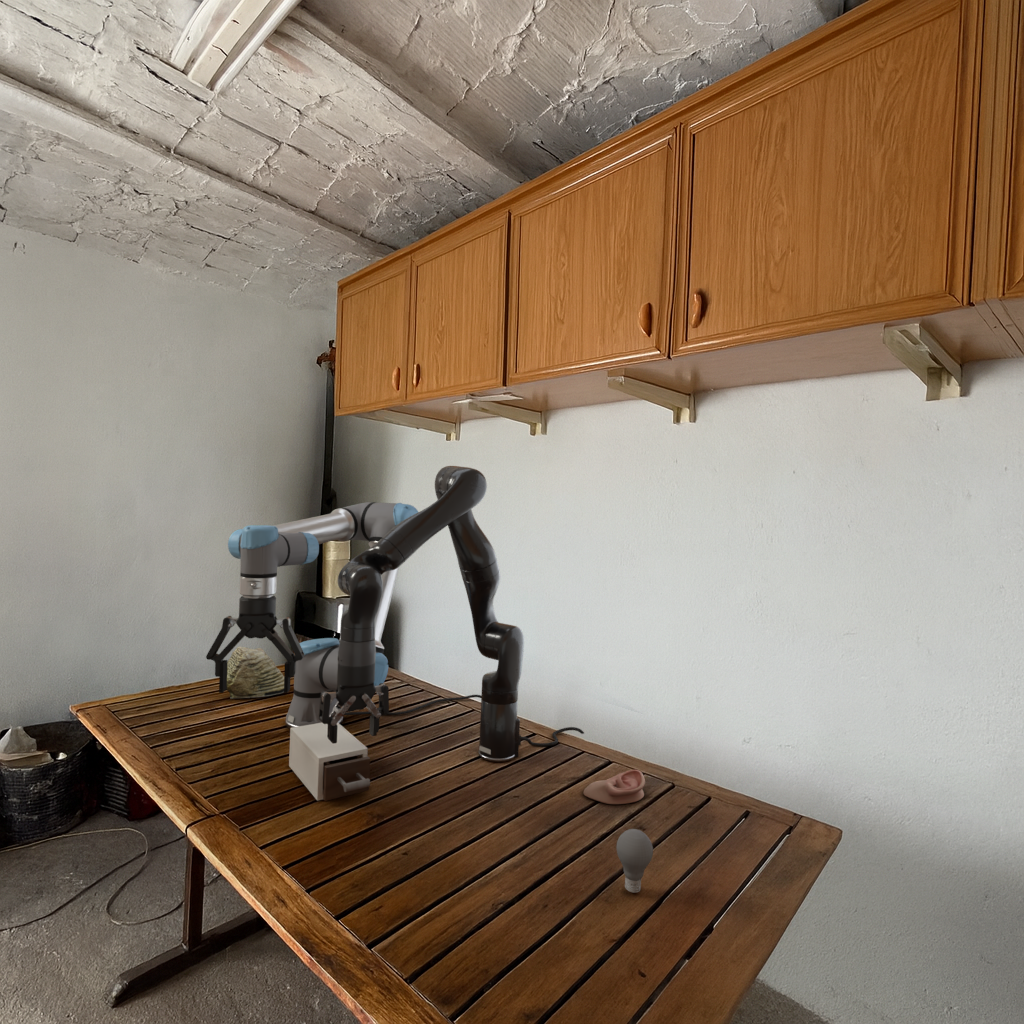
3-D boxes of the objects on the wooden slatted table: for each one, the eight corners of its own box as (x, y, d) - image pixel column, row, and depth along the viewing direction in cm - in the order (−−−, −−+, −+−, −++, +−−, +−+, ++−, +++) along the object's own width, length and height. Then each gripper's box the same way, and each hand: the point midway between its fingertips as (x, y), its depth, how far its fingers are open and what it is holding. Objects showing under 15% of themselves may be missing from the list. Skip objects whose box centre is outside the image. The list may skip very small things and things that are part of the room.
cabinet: (366, 789, 138) (367, 748, 138) (317, 801, 132) (318, 758, 132) (333, 756, 154) (335, 720, 154) (288, 765, 148) (290, 727, 148)
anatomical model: (582, 782, 137) (587, 761, 148) (581, 800, 137) (586, 778, 148) (645, 790, 134) (645, 768, 145) (644, 809, 134) (644, 785, 145)
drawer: (379, 800, 131) (381, 767, 131) (334, 812, 125) (335, 778, 125) (337, 759, 150) (339, 730, 150) (297, 767, 145) (298, 737, 145)
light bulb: (610, 879, 108) (613, 822, 108) (644, 879, 109) (647, 822, 109) (619, 902, 102) (622, 840, 102) (655, 901, 103) (658, 840, 103)
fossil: (218, 695, 195) (220, 647, 195) (278, 685, 208) (279, 640, 207) (228, 703, 189) (230, 653, 188) (289, 692, 201) (290, 645, 201)
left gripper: (191, 597, 134) (189, 696, 135) (313, 599, 137) (309, 696, 138) (204, 591, 142) (201, 685, 142) (319, 594, 145) (316, 686, 145)
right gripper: (329, 668, 123) (325, 751, 123) (396, 660, 132) (393, 738, 132) (316, 659, 129) (313, 738, 130) (381, 652, 138) (378, 726, 138)
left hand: (255, 691), depth 140 cm, fingers open, 13 cm apart
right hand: (353, 738), depth 131 cm, fingers open, 8 cm apart
